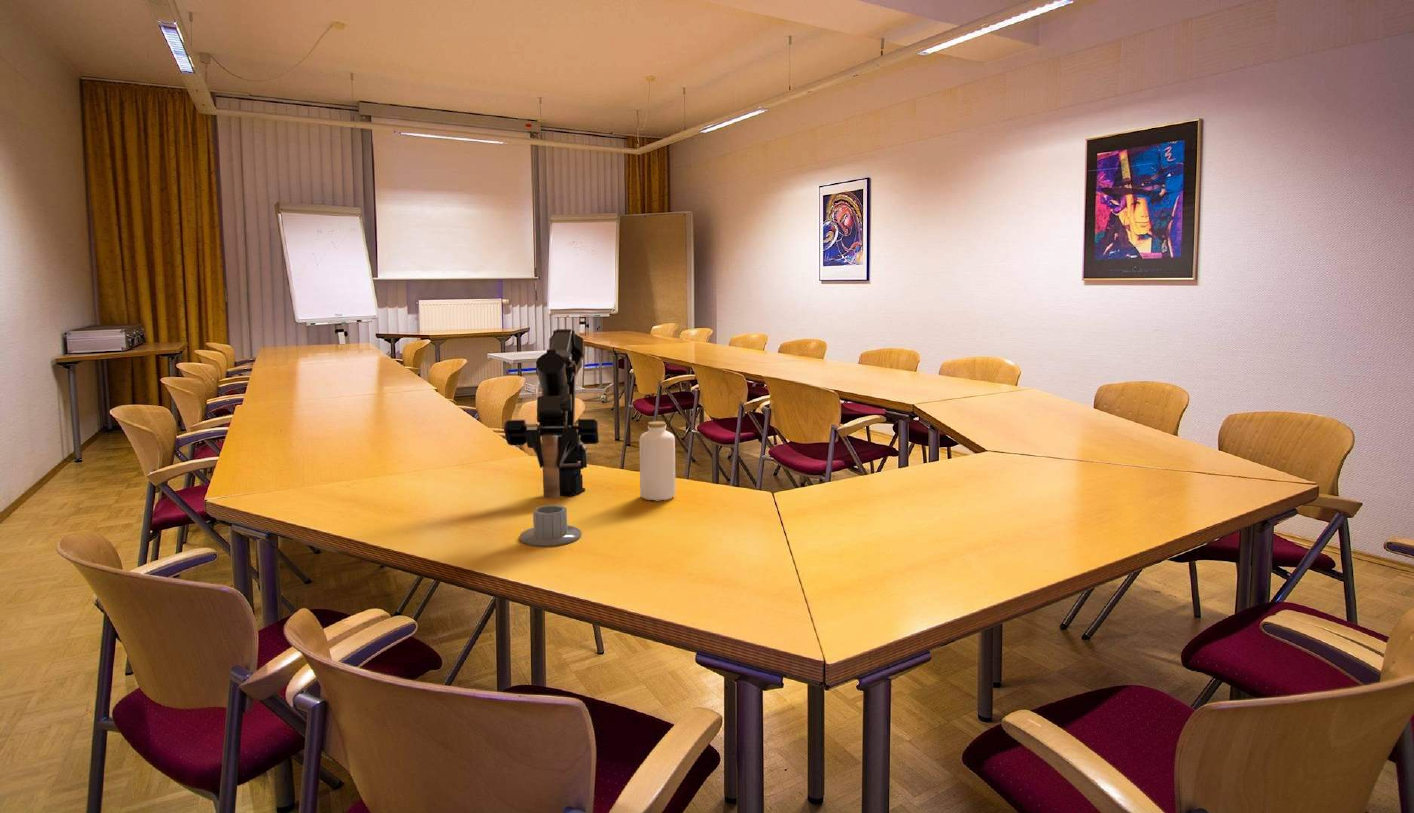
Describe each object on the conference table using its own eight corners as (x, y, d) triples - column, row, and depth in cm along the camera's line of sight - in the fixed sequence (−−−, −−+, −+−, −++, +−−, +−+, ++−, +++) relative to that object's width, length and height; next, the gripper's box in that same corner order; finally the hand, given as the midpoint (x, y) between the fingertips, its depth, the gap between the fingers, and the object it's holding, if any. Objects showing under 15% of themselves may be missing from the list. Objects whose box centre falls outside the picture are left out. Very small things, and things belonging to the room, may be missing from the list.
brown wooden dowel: (541, 496, 157) (539, 435, 155) (555, 493, 159) (554, 434, 157) (547, 499, 154) (545, 437, 153) (562, 497, 156) (560, 436, 154)
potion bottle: (633, 499, 182) (632, 423, 179) (652, 491, 189) (651, 418, 186) (663, 503, 178) (663, 426, 175) (681, 495, 185) (681, 421, 183)
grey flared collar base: (507, 540, 152) (505, 513, 151) (546, 524, 163) (545, 498, 162) (556, 550, 147) (555, 521, 146) (593, 532, 157) (592, 505, 156)
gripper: (503, 380, 157) (495, 444, 147) (596, 379, 158) (594, 443, 149) (511, 413, 165) (504, 475, 156) (599, 412, 167) (597, 473, 158)
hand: (549, 466), depth 154 cm, fingers closed on brown wooden dowel, 3 cm apart
